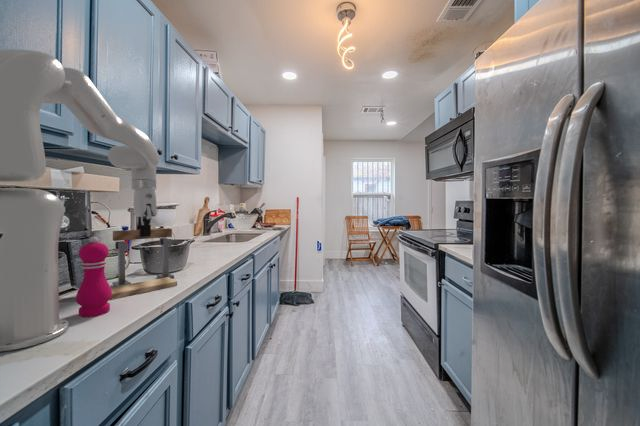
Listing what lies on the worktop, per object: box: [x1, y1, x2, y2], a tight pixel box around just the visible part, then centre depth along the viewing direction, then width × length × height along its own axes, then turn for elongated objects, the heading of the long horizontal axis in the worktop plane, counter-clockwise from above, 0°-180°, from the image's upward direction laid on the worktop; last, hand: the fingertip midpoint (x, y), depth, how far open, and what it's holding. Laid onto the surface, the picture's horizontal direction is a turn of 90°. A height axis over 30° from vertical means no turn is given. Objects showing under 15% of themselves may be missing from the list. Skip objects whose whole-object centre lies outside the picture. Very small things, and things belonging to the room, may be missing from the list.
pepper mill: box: [75, 236, 112, 318], centre depth 70 cm, size 7×7×20 cm
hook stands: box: [111, 237, 175, 287], centre depth 99 cm, size 18×6×15 cm, turn 139°
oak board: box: [108, 277, 178, 301], centre depth 89 cm, size 22×8×2 cm, turn 139°
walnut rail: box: [112, 227, 173, 242], centre depth 98 cm, size 18×2×3 cm, turn 139°
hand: (143, 235), depth 98 cm, fingers closed on walnut rail, 2 cm apart
